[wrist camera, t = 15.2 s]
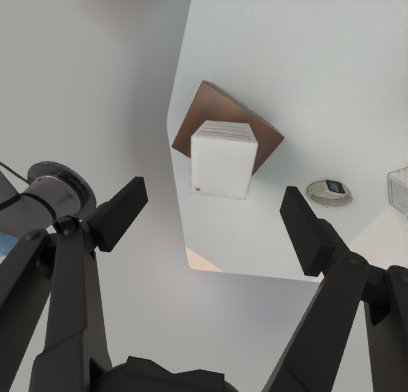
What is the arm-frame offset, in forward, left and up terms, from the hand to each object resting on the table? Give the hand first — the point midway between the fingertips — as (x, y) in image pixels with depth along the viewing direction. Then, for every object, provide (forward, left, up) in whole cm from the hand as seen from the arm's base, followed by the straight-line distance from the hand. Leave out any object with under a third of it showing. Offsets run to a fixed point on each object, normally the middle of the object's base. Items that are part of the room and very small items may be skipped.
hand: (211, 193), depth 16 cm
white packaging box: (0, +1, -17) cm, 17 cm away
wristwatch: (+29, +2, -27) cm, 40 cm away
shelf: (0, +1, -27) cm, 27 cm away
